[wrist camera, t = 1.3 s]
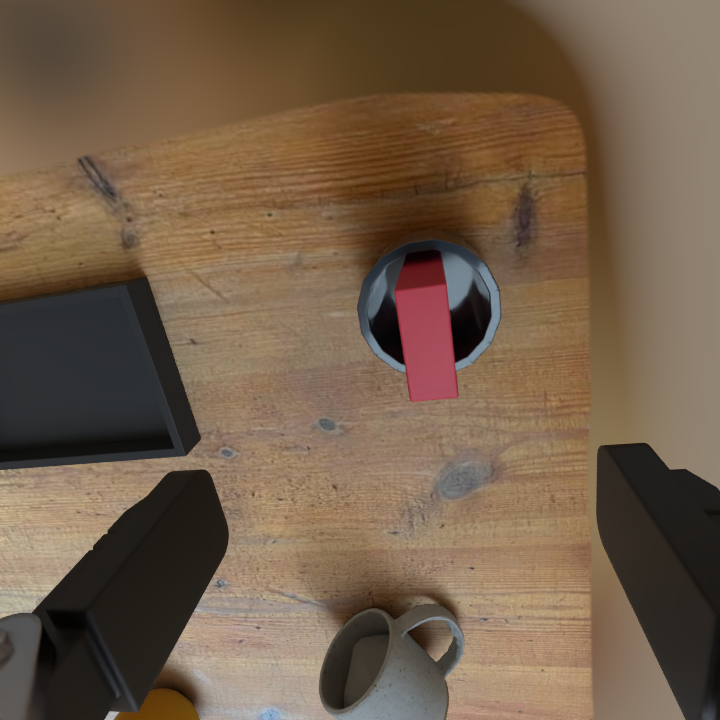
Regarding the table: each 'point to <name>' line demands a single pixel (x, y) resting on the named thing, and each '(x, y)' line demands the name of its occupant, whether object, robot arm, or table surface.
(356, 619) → the ceramic mug
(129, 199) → the table surface
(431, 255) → the block
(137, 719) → the fruit
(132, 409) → the tray
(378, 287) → the cup
